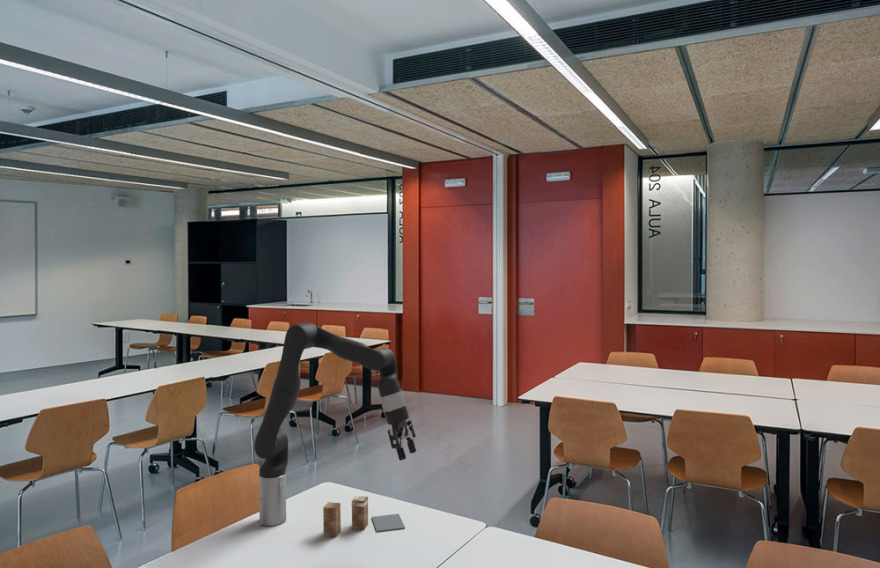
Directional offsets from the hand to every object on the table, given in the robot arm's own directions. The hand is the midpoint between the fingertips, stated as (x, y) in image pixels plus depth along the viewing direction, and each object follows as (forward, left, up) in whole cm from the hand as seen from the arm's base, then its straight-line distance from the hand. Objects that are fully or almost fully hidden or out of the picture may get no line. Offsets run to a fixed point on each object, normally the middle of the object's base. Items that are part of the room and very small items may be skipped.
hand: (408, 456), depth 189 cm
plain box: (-24, +17, -30) cm, 42 cm away
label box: (-14, +20, -30) cm, 39 cm away
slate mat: (-4, +20, -30) cm, 36 cm away
